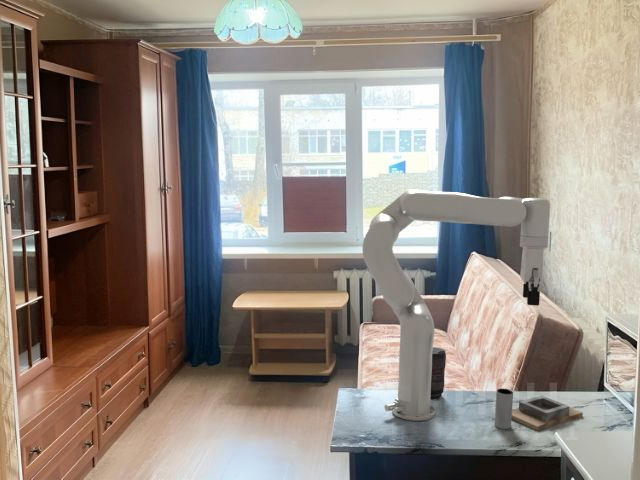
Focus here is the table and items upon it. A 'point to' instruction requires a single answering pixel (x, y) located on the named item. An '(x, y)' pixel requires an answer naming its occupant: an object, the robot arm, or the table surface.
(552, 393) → the table surface
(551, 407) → the socket board
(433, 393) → the camera lens
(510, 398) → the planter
